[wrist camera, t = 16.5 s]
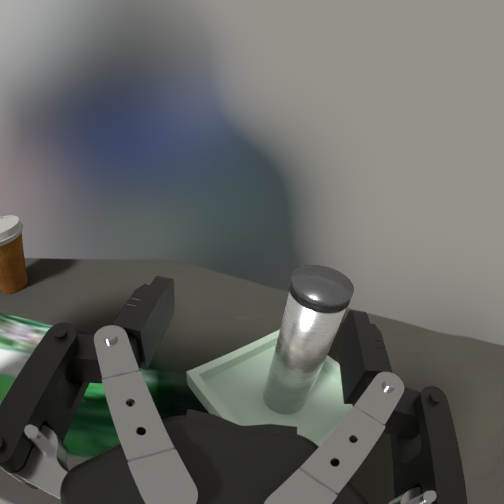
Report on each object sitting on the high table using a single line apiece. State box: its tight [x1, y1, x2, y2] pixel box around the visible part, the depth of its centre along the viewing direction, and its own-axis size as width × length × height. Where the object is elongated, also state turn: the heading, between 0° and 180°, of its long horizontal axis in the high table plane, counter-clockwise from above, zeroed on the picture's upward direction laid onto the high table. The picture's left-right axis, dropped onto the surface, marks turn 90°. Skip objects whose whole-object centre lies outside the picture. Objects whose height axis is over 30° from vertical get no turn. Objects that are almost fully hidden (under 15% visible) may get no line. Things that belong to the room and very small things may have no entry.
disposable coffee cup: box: [0, 216, 28, 294], centre depth 39 cm, size 10×10×12 cm
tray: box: [186, 330, 353, 446], centre depth 31 cm, size 16×16×2 cm
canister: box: [263, 265, 354, 414], centre depth 27 cm, size 5×5×16 cm
